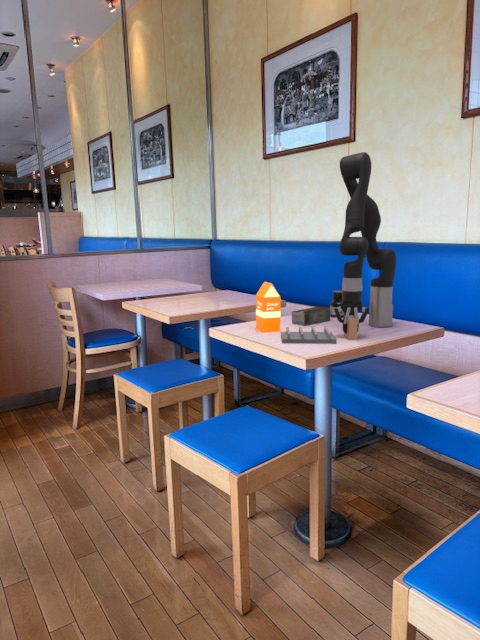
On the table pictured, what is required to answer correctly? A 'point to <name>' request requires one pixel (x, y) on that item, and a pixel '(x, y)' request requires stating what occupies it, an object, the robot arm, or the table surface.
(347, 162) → the robot arm
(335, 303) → the ink bottle
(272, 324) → the orange juice
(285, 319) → the table surface
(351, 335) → the wooden block
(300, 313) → the weathered grey box
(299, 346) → the table surface
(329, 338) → the rack
